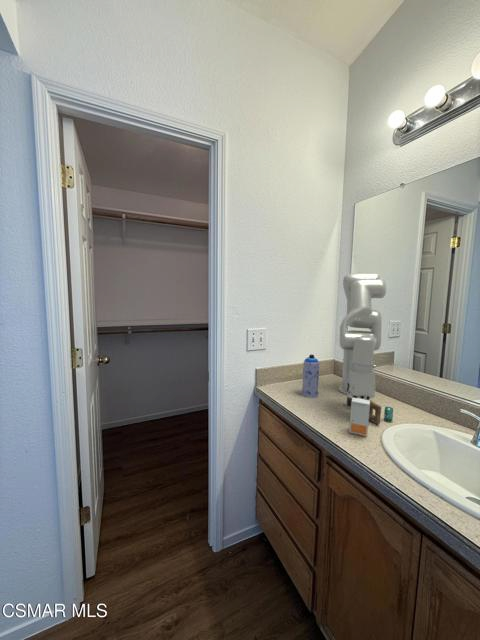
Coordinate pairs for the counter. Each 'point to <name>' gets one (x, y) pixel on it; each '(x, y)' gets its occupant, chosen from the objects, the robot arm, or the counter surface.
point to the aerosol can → (310, 377)
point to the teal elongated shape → (387, 413)
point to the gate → (377, 412)
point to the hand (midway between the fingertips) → (359, 411)
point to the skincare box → (359, 416)
